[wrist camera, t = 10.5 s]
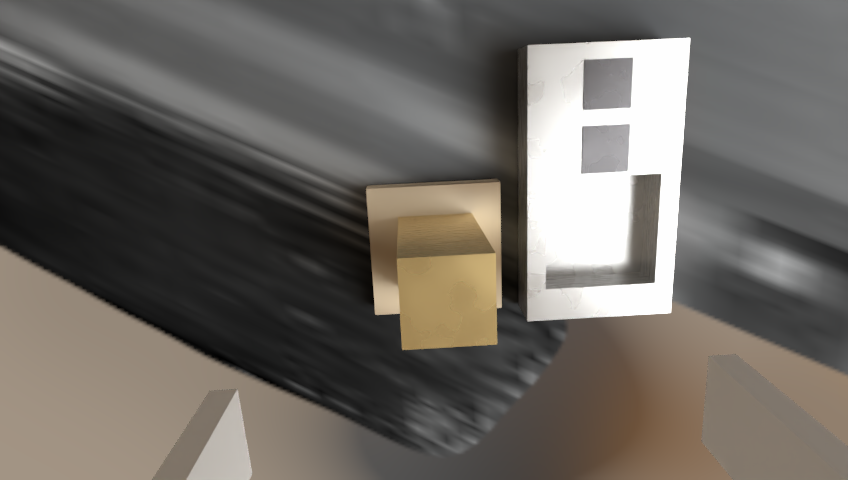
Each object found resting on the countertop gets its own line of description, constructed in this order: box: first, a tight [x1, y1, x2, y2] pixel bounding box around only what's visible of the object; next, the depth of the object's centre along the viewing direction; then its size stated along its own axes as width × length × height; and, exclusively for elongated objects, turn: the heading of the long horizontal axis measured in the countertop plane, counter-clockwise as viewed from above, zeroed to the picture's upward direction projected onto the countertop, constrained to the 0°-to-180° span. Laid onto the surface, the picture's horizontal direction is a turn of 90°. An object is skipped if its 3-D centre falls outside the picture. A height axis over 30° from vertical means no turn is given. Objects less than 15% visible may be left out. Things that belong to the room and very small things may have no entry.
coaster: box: [366, 179, 502, 315], centre depth 39 cm, size 9×9×2 cm
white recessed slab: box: [518, 38, 690, 321], centre depth 37 cm, size 18×10×3 cm, turn 3°
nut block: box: [397, 213, 497, 350], centre depth 33 cm, size 5×5×10 cm
